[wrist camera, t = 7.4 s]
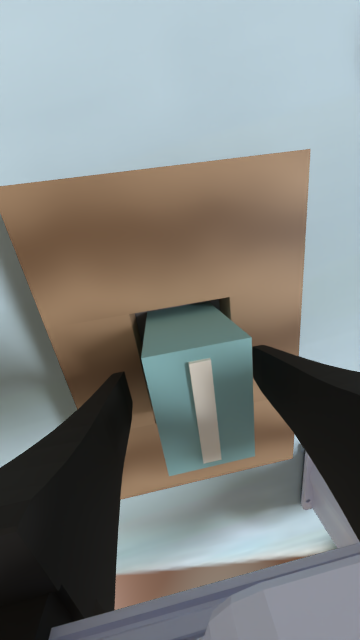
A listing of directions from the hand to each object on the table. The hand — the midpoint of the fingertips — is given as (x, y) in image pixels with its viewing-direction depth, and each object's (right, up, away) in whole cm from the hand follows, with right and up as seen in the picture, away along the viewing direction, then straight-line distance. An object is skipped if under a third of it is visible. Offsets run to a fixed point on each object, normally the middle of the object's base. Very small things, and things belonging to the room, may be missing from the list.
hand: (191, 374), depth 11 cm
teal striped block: (0, +1, +3) cm, 3 cm away
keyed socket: (0, +1, +3) cm, 3 cm away
